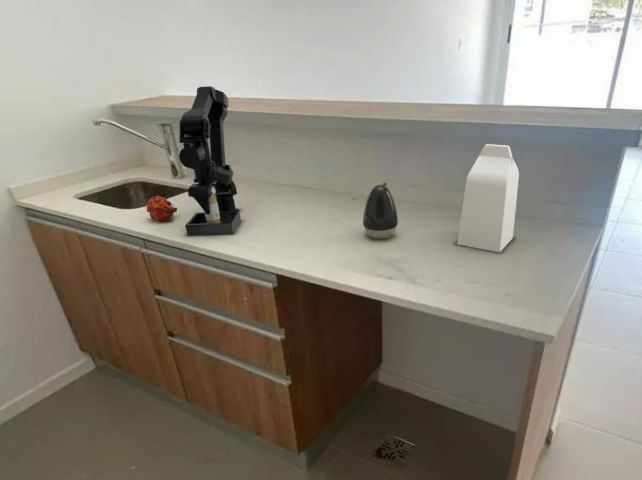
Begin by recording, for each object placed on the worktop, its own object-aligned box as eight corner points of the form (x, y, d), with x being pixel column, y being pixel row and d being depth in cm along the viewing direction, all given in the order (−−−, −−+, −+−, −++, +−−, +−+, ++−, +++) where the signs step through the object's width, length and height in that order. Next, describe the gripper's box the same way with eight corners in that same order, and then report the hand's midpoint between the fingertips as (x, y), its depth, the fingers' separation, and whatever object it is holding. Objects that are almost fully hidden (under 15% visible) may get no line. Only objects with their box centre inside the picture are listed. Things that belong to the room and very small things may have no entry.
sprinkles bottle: (215, 224, 154) (207, 184, 147) (225, 227, 151) (217, 186, 144) (204, 229, 150) (196, 187, 143) (214, 231, 148) (206, 189, 141)
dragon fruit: (156, 219, 166) (176, 230, 160) (135, 211, 159) (155, 223, 153) (165, 197, 165) (186, 207, 159) (145, 188, 158) (166, 199, 152)
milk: (457, 244, 131) (465, 148, 117) (472, 230, 139) (481, 139, 125) (499, 252, 125) (514, 152, 111) (512, 237, 133) (527, 142, 119)
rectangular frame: (198, 222, 156) (195, 212, 154) (240, 221, 155) (239, 211, 154) (187, 235, 146) (185, 225, 144) (233, 234, 146) (231, 223, 144)
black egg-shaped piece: (401, 230, 141) (402, 180, 134) (393, 243, 133) (393, 191, 125) (368, 228, 145) (368, 178, 137) (359, 240, 136) (357, 189, 128)
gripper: (220, 166, 131) (229, 219, 139) (234, 151, 147) (242, 200, 155) (181, 168, 132) (193, 220, 140) (200, 153, 148) (209, 201, 156)
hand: (211, 210), depth 148 cm, fingers open, 7 cm apart
